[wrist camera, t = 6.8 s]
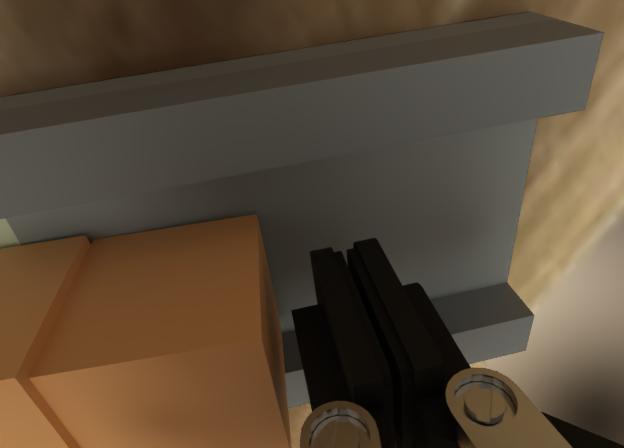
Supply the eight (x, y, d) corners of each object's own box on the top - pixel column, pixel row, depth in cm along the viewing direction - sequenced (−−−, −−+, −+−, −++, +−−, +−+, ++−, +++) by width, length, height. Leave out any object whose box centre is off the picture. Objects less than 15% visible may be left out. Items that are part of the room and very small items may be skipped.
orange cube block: (-88, 262, 11) (-240, 420, 7) (86, 235, 11) (14, 377, 7) (-2, 371, 13) (-87, 529, 10) (140, 347, 13) (105, 494, 10)
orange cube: (93, 239, 11) (28, 378, 8) (256, 213, 11) (261, 339, 8) (145, 348, 13) (112, 490, 10) (281, 325, 13) (292, 458, 10)
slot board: (-33, 102, 10) (-95, 150, 8) (530, 11, 11) (603, 32, 9) (121, 380, 15) (108, 451, 13) (485, 297, 17) (525, 350, 15)
